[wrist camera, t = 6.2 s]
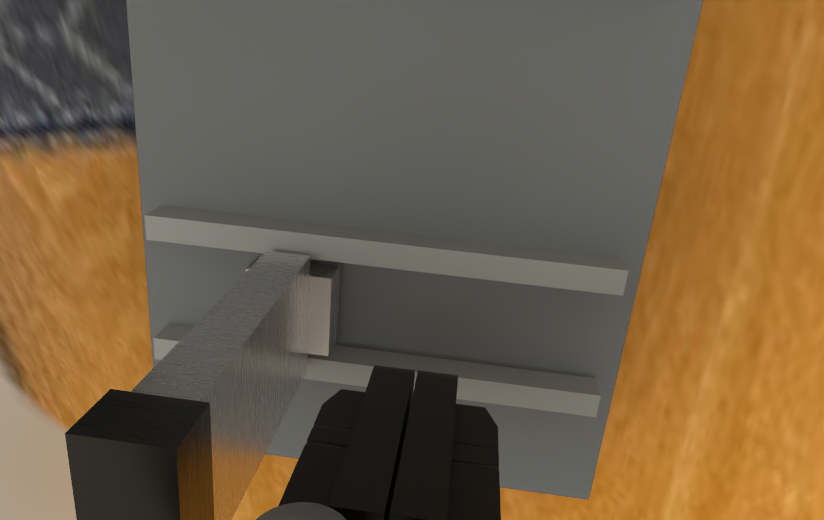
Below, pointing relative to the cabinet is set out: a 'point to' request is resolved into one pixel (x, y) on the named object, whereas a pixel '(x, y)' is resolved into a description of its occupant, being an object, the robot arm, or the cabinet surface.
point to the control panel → (419, 190)
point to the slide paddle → (207, 400)
